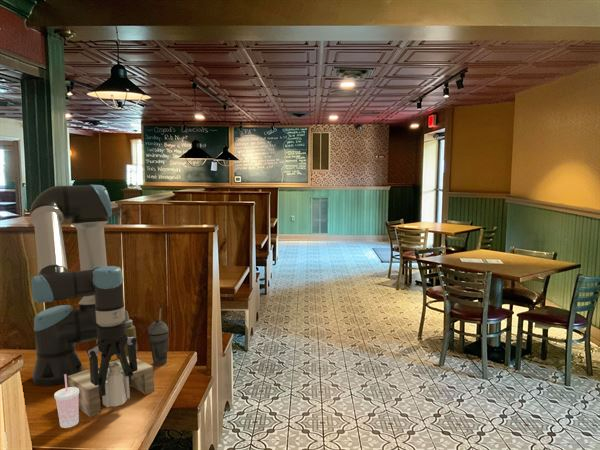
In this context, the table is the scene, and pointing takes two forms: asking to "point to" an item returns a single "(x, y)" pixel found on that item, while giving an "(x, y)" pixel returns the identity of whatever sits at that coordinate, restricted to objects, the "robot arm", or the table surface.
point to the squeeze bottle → (129, 332)
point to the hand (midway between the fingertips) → (116, 400)
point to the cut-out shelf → (90, 392)
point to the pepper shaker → (116, 386)
